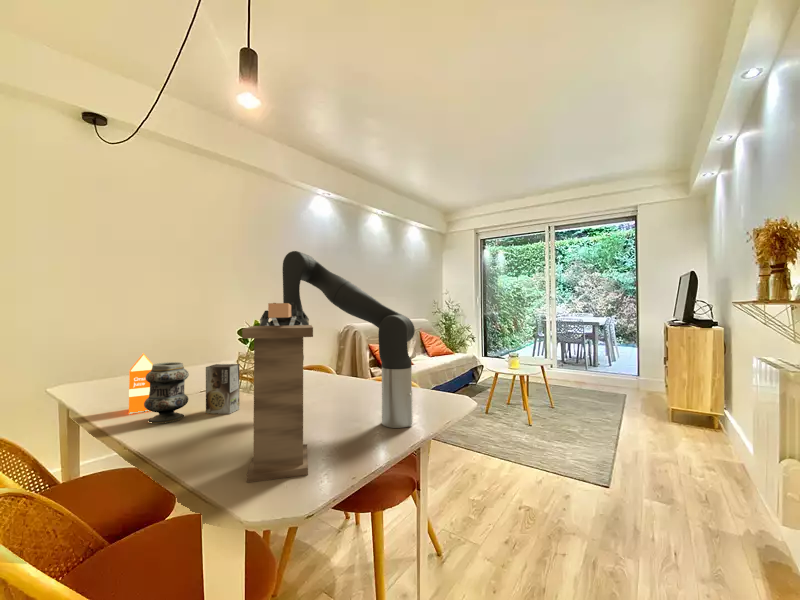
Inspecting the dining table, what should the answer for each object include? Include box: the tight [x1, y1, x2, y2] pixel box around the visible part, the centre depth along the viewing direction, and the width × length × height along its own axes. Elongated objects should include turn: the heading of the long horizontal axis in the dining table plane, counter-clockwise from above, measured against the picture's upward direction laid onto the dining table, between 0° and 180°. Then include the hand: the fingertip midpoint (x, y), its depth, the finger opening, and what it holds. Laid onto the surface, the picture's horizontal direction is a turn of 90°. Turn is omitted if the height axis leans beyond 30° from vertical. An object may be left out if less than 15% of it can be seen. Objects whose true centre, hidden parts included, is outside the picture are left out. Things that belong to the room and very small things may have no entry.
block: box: [267, 302, 292, 319], centre depth 87 cm, size 26×4×3 cm, turn 15°
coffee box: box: [205, 363, 240, 415], centre depth 124 cm, size 9×6×16 cm
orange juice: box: [128, 352, 154, 414], centre depth 127 cm, size 8×9×20 cm
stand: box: [241, 324, 314, 483], centre depth 82 cm, size 16×14×31 cm
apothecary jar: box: [144, 361, 190, 424], centre depth 116 cm, size 12×12×18 cm
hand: (283, 305), depth 94 cm, fingers closed on block, 4 cm apart
